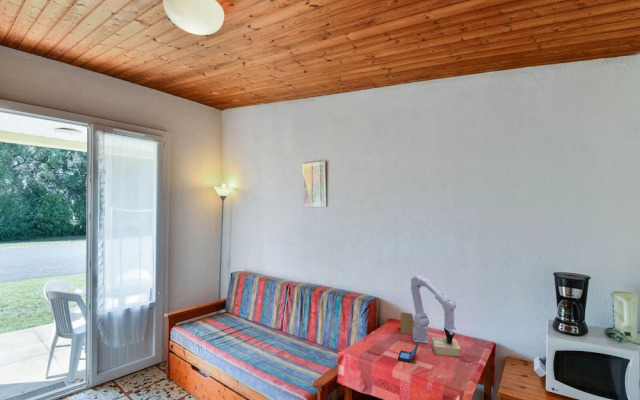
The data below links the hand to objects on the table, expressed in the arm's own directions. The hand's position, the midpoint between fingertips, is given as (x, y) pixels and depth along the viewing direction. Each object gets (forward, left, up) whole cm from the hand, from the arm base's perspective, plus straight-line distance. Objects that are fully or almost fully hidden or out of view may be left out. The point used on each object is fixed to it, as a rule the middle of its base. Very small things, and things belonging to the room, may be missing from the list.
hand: (449, 341), depth 202 cm
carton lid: (-2, 0, -2) cm, 2 cm away
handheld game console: (-26, -15, -6) cm, 31 cm away
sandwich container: (-23, +31, -6) cm, 39 cm away
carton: (-2, 0, -6) cm, 6 cm away
